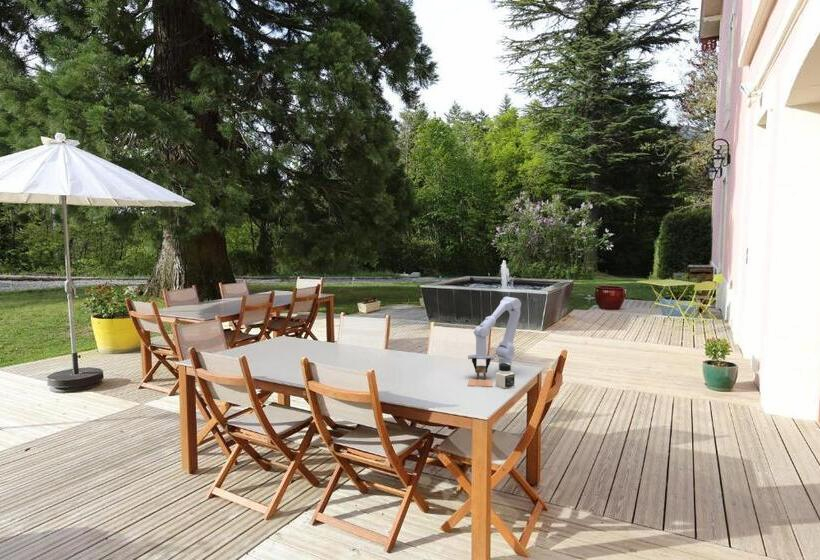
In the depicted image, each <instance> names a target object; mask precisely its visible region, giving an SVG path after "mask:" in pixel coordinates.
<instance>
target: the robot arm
mask: <svg viewBox="0 0 820 560" xmlns="http://www.w3.org/2000/svg"><path fill="white" fill-rule="evenodd" d="M499 302H500V303H499V305H498V306H497V307H496V309H495V310H494V311H493V313H492V314H491V315H489V316H486V317H485V319H484V320H483V321H482V322H481V323H480V324H479V326H476V327H475V328H474V330H473V334H474V336H475V354H467V359H468V360H471V362H472V364H473V367H474V370H475V373H476V369H477V366H478V365H477V362H478V361H477V360H485V366H486V374H488V368H489V366H490V363H491V361H495V359H496V356H495V355H489V354H487V337H489V333H490V331H491V329H492V328H493V327H494V326H495V325H496V322H497V320H498V318H499V317H500V316H501V315H503V313H505V312H506V311H508V313H509V318H508V321H507V324H506V328H505V332H504V336H503V339H502V341H500V342H499V344H498V346H497V347H496V349H495V353H496V355H497V359H498V366H499V365H500V364H501V363H508V364H510V365H511V366H512V360H513V358H514V357H515V347H516V346H514V344H513V343H514V338H515V335H516V332H517V327H518V324H519V321H520V317H521V307H522V302H521V300H520V299H519V298H517V297H510V296H508V295H507V296H504V297H502V299H501V300H500V301H499ZM497 372H500V371H499V369H498V370H497ZM511 372H512V373H513V370H511Z"/></svg>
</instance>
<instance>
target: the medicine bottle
mask: <svg viewBox="0 0 820 560" xmlns="http://www.w3.org/2000/svg"><path fill="white" fill-rule="evenodd" d="M498 370H499V371H500V372H498V371H497V372H495V386H496V387H499V388H501V387H502V388H501V389H504V388H505V389H510V388H513V387H512V386H514V387H515V373H514V372H513V371H512V364H511V365H510V364H508V363H501V364H500V365H499V364H498ZM511 371H512V372H511ZM509 387H510V388H509ZM505 389H504V390H505Z"/></svg>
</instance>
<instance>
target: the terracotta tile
mask: <svg viewBox="0 0 820 560" xmlns="http://www.w3.org/2000/svg"><path fill="white" fill-rule="evenodd" d="M467 381H468V382H467V387H474V386H481V387H482V388H493V383H494V380H493V379H485V380H483V379H479V380H477V379H468V380H467ZM481 387H480V388H481Z"/></svg>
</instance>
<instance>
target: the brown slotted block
mask: <svg viewBox="0 0 820 560" xmlns="http://www.w3.org/2000/svg"><path fill="white" fill-rule="evenodd" d="M475 373H476V380H480V374H482V375H483V376H482V377H483V379H482V380H486V377H487V376H486V375H487V373H486V365H477V369H476V372H475Z"/></svg>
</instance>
